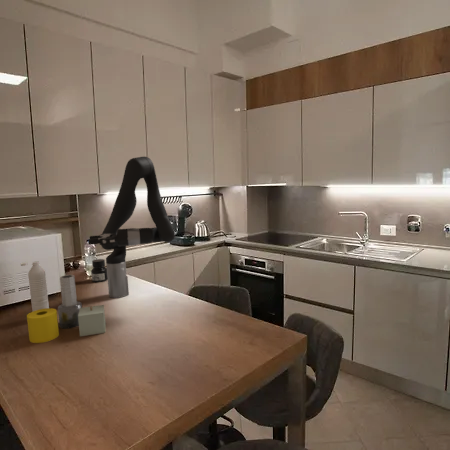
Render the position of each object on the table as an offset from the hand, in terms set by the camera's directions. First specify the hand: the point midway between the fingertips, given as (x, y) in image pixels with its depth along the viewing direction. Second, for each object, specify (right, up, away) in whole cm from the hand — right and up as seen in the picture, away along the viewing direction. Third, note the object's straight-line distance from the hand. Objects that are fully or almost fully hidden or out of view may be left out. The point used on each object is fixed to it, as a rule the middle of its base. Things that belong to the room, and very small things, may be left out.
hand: (89, 240), depth 151 cm
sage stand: (+6, -35, -11) cm, 37 cm away
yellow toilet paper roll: (-11, -36, -16) cm, 41 cm away
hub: (-5, -34, -5) cm, 35 cm away
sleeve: (-6, -26, -6) cm, 27 cm away
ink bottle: (-16, -26, +58) cm, 66 cm away
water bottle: (-22, -34, +2) cm, 41 cm away
